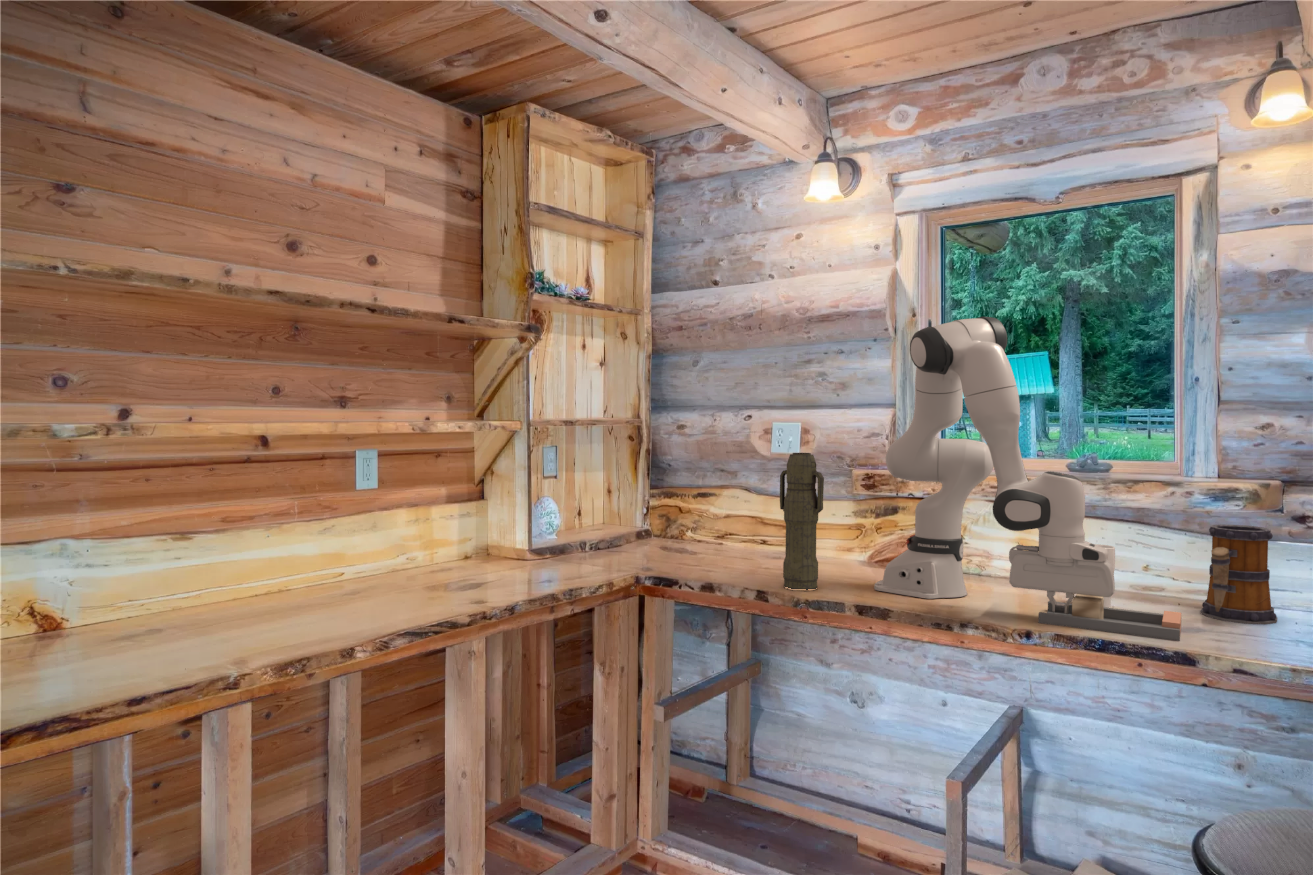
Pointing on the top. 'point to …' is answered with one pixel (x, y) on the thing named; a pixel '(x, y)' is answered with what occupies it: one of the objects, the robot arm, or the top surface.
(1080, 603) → the block
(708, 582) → the top surface
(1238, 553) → the mug
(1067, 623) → the guide channel
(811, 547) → the thermos
